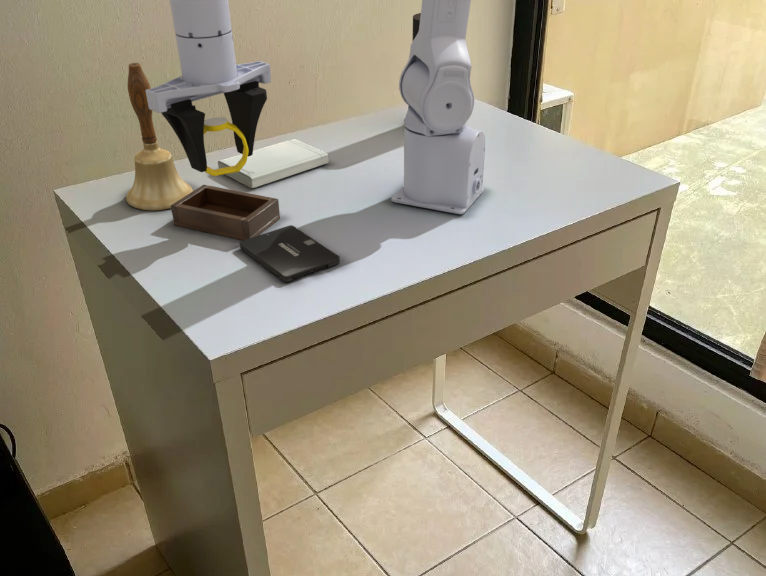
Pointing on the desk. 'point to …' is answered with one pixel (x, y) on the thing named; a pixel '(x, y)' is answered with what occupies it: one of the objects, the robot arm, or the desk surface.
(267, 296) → the desk surface
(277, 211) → the wooden tray
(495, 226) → the desk surface
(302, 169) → the hard drive
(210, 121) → the watch
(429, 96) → the robot arm
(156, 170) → the hand bell
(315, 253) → the solid state drive
